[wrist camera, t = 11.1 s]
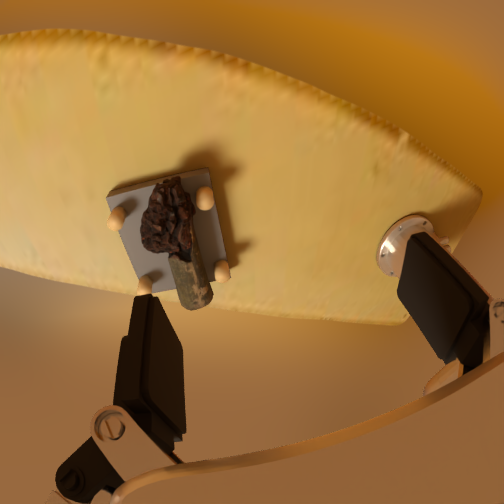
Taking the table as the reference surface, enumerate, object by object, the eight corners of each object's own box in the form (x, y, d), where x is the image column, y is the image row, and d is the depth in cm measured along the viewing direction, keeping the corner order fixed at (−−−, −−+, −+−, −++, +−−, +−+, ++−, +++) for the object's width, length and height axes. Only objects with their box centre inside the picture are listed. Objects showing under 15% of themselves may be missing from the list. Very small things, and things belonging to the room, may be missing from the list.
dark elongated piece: (212, 285, 43) (215, 313, 39) (168, 292, 43) (166, 320, 38) (189, 170, 33) (187, 188, 28) (133, 181, 32) (123, 201, 28)
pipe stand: (208, 167, 35) (209, 180, 32) (229, 269, 45) (233, 289, 41) (109, 191, 34) (100, 206, 31) (146, 285, 44) (144, 306, 40)
